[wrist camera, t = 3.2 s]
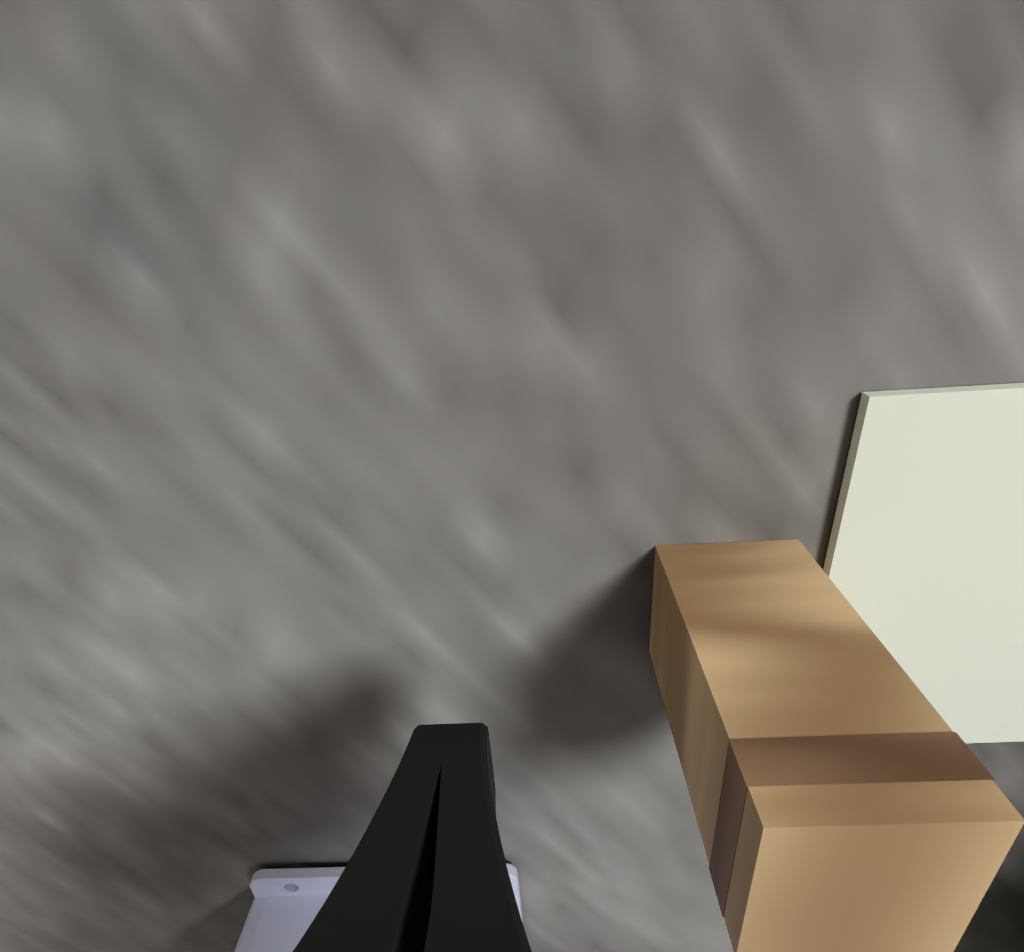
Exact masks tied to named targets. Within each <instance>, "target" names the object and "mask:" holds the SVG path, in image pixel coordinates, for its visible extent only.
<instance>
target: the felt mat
mask: <svg viewBox="0 0 1024 952" xmlns="http://www.w3.org/2000/svg"><path fill="white" fill-rule="evenodd" d="M823 571H824V572H825V573H826V574H827V576H828V577H829V578H830V579H831V581H832V582H833V583H834V584H835V586H836V587H837V588H838V589H839V590H840V592H841V593H842V594H843V595H844V597H845V598H846V599H847V600H848V602H849V603H850V604H851V605H852V607H853V608H854V609H855V610H856V612H857V613H858V614H859V615H860V617H861V618H862V619H863V620H864V621H865V623H866V624H867V625H868V626H869V628H870V629H871V630H872V631H873V633H874V634H875V635H876V636H877V638H878V639H879V640H880V641H881V643H882V644H883V645H884V646H885V648H886V649H887V650H888V651H889V653H890V654H891V655H892V656H893V657H894V659H895V660H896V661H897V662H898V664H899V665H900V666H901V667H902V669H903V670H904V671H905V672H906V674H907V675H908V676H909V677H910V679H911V680H912V681H913V682H914V684H915V685H916V686H917V687H918V688H919V690H920V691H921V692H922V693H923V695H924V696H925V697H926V698H927V700H928V701H929V702H930V703H931V705H932V706H933V707H934V708H935V710H936V711H937V712H938V713H939V715H940V716H941V717H942V718H943V720H944V721H945V722H946V723H947V724H948V726H949V727H950V728H951V729H952V731H953V732H956V733H957V734H958V735H959V736H960V738H961V739H962V740H963V741H964V743H987V742H1018V741H1024V383H1014V384H996V385H979V386H962V387H944V388H927V389H910V390H892V391H875V392H862V395H861V399H860V404H859V408H858V413H857V417H856V422H855V427H854V431H853V436H852V440H851V445H850V449H849V454H848V458H847V463H846V468H845V472H844V477H843V481H842V486H841V490H840V495H839V499H838V504H837V508H836V513H835V518H834V522H833V527H832V531H831V536H830V540H829V545H828V549H827V554H826V558H825V563H824V568H823Z"/></svg>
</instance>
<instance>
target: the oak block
mask: <svg viewBox="0 0 1024 952" xmlns="http://www.w3.org/2000/svg"><path fill="white" fill-rule="evenodd" d="M649 652H650V656H651V660H652V663H653V667H654V670H655V674H656V677H657V681H658V684H659V688H660V691H661V695H662V699H663V702H664V706H665V709H666V713H667V716H668V720H669V723H670V727H671V730H672V734H673V737H674V741H675V745H676V748H677V752H678V755H679V759H680V762H681V766H682V769H683V773H684V776H685V780H686V784H687V787H688V791H689V794H690V798H691V801H692V805H693V808H694V812H695V815H696V819H697V823H698V826H699V830H700V833H701V837H702V840H703V844H704V847H705V851H706V854H707V858H708V862H709V870H710V873H711V877H712V881H713V884H714V888H715V891H716V895H717V898H718V902H719V906H720V909H721V913H722V916H723V917H724V918H725V922H726V925H727V929H728V932H729V936H730V939H731V943H732V947H733V950H734V952H954V950H955V948H956V946H957V944H958V943H959V941H960V939H961V937H962V935H963V933H964V932H965V930H966V928H967V926H968V924H969V923H970V921H971V919H972V917H973V915H974V913H975V912H976V910H977V908H978V906H979V904H980V902H981V901H982V899H983V897H984V895H985V893H986V891H987V890H988V888H989V886H990V884H991V882H992V881H993V879H994V877H995V875H996V873H997V871H998V870H999V868H1000V866H1001V864H1002V862H1003V860H1004V859H1005V857H1006V855H1007V853H1008V851H1009V849H1010V848H1011V846H1012V844H1013V842H1014V840H1015V839H1016V837H1017V835H1018V833H1019V831H1020V829H1021V828H1022V826H1023V824H1024V819H1023V818H1022V816H1021V815H1020V814H1019V813H1018V811H1017V810H1016V809H1015V808H1014V806H1013V805H1012V804H1011V803H1010V801H1009V800H1008V799H1007V798H1006V796H1005V795H1004V794H1003V793H1002V791H1001V790H1000V789H999V788H998V787H997V785H996V784H995V783H994V782H993V780H994V778H993V777H992V776H991V775H990V773H989V772H988V771H987V770H986V768H985V767H984V766H983V765H982V764H981V762H980V761H979V760H978V759H977V757H976V756H975V755H974V754H973V752H972V751H971V750H970V749H969V747H968V746H967V745H966V744H965V743H964V741H963V740H962V739H961V738H960V736H959V735H958V734H957V733H956V732H953V731H952V729H951V728H950V727H949V726H948V724H947V723H946V722H945V721H944V720H943V718H942V717H941V716H940V715H939V713H938V712H937V711H936V710H935V708H934V707H933V706H932V705H931V703H930V702H929V701H928V700H927V698H926V697H925V696H924V695H923V693H922V692H921V691H920V690H919V688H918V687H917V686H916V685H915V684H914V682H913V681H912V680H911V679H910V677H909V676H908V675H907V674H906V672H905V671H904V670H903V669H902V667H901V666H900V665H899V664H898V662H897V661H896V660H895V659H894V657H893V656H892V655H891V654H890V653H889V651H888V650H887V649H886V648H885V646H884V645H883V644H882V643H881V641H880V640H879V639H878V638H877V636H876V635H875V634H874V633H873V631H872V630H871V629H870V628H869V626H868V625H867V624H866V623H865V621H864V620H863V619H862V618H861V617H860V615H859V614H858V613H857V612H856V610H855V609H854V608H853V607H852V605H851V604H850V603H849V602H848V600H847V599H846V598H845V597H844V595H843V594H842V593H841V592H840V590H839V589H838V588H837V587H836V586H835V584H834V583H833V582H832V581H831V579H830V578H829V577H828V576H827V574H826V573H825V572H824V571H823V569H822V568H821V567H820V566H819V564H818V563H817V562H816V561H815V559H814V558H813V557H812V556H811V554H810V553H809V552H808V551H807V550H806V548H805V547H804V546H803V545H802V543H801V542H800V541H799V540H798V539H791V540H770V541H749V542H728V543H707V544H685V545H664V546H655V560H654V578H653V595H652V613H651V631H650V648H649Z"/></svg>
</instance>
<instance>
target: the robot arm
mask: <svg viewBox="0 0 1024 952" xmlns="http://www.w3.org/2000/svg"><path fill="white" fill-rule="evenodd" d="M250 888H251V890H252V892H253V894H254V896H255V898H254V900H253V903H252V906H251V908H250V911H249V914H248V916H247V919H246V922H245V924H244V927H243V930H242V932H241V935H240V938H239V940H238V943H237V946H236V948H235V951H234V952H531V949H530V946H529V943H528V939H527V936H526V933H525V930H524V927H523V918H522V908H521V899H520V889H519V880H518V871H517V869H516V868H515V867H514V866H513V865H511V864H509V863H506V861H505V857H504V853H503V849H502V845H501V840H500V835H499V830H498V826H497V821H496V807H495V782H494V774H493V765H492V757H491V749H490V741H489V733H488V727H487V726H486V725H484V724H483V723H462V724H434V725H419V726H417V727H416V728H415V729H414V731H413V733H412V736H411V739H410V741H409V743H408V746H407V748H406V750H405V753H404V755H403V757H402V760H401V762H400V764H399V766H398V768H397V771H396V773H395V775H394V777H393V779H392V781H391V783H390V785H389V787H388V789H387V791H386V793H385V795H384V797H383V799H382V801H381V803H380V805H379V807H378V809H377V811H376V813H375V815H374V817H373V818H372V820H371V822H370V824H369V826H368V828H367V830H366V832H365V834H364V835H363V837H362V839H361V841H360V843H359V845H358V846H357V848H356V850H355V852H354V853H353V855H352V857H351V859H350V860H349V862H348V864H347V865H346V867H316V868H277V869H260V870H258V871H256V872H255V873H254V874H253V877H252V879H251V882H250Z"/></svg>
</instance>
